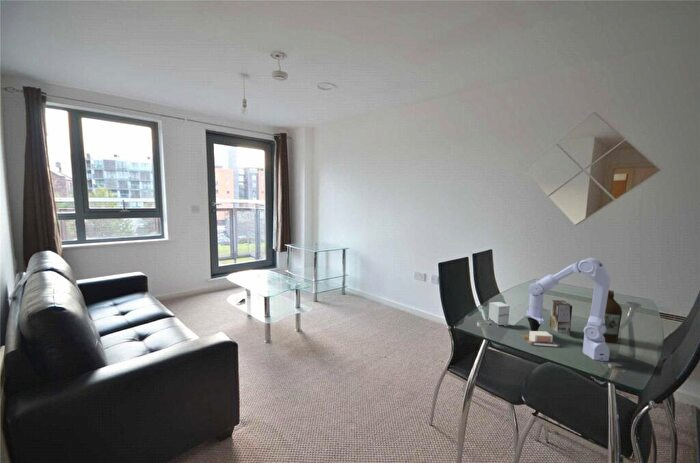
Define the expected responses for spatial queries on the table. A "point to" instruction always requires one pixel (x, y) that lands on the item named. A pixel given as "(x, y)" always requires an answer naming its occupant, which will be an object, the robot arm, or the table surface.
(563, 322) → the coffee box
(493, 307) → the supplement box
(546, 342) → the price rail
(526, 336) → the tan wooden board
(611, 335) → the olive oil
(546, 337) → the cream box
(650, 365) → the table surface
